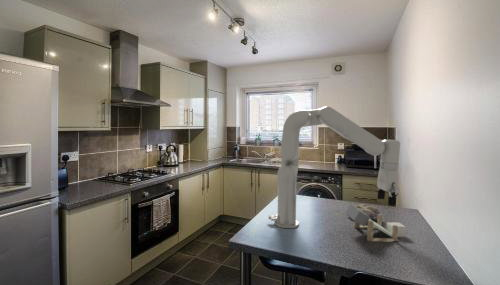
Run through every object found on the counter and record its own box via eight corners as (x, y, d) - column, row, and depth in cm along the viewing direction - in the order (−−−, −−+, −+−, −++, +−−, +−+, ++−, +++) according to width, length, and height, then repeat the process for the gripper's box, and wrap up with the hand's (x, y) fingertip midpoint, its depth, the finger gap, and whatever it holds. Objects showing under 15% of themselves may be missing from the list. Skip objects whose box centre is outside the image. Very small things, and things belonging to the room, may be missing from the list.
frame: (368, 241, 112) (368, 221, 112) (354, 227, 127) (355, 210, 127) (397, 241, 112) (398, 221, 111) (380, 227, 127) (381, 210, 127)
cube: (392, 226, 117) (405, 226, 117) (386, 222, 122) (399, 222, 122) (392, 237, 117) (404, 237, 117) (386, 232, 122) (398, 232, 122)
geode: (349, 221, 149) (351, 226, 135) (343, 206, 151) (345, 209, 137) (378, 213, 145) (384, 218, 131) (372, 197, 147) (377, 200, 133)
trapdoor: (354, 220, 113) (360, 211, 113) (344, 211, 125) (350, 203, 125) (391, 243, 114) (398, 234, 113) (378, 232, 126) (384, 224, 125)
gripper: (372, 162, 126) (369, 196, 127) (390, 169, 109) (387, 207, 110) (387, 163, 126) (384, 197, 127) (408, 169, 109) (405, 208, 110)
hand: (386, 201), depth 119 cm, fingers open, 9 cm apart
